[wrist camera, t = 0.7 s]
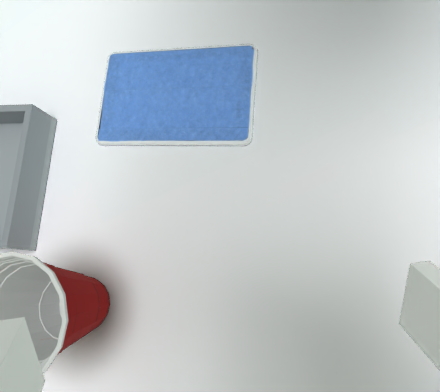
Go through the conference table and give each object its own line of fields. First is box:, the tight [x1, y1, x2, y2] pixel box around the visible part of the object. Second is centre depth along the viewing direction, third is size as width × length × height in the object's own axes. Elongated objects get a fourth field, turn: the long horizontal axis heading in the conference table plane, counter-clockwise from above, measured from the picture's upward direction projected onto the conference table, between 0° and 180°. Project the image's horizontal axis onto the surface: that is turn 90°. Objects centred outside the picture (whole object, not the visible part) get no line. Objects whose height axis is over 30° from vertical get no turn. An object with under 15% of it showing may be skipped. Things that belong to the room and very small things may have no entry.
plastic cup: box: [0, 251, 110, 373], centre depth 35 cm, size 11×11×12 cm
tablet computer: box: [96, 44, 258, 146], centre depth 44 cm, size 19×13×1 cm, turn 85°
